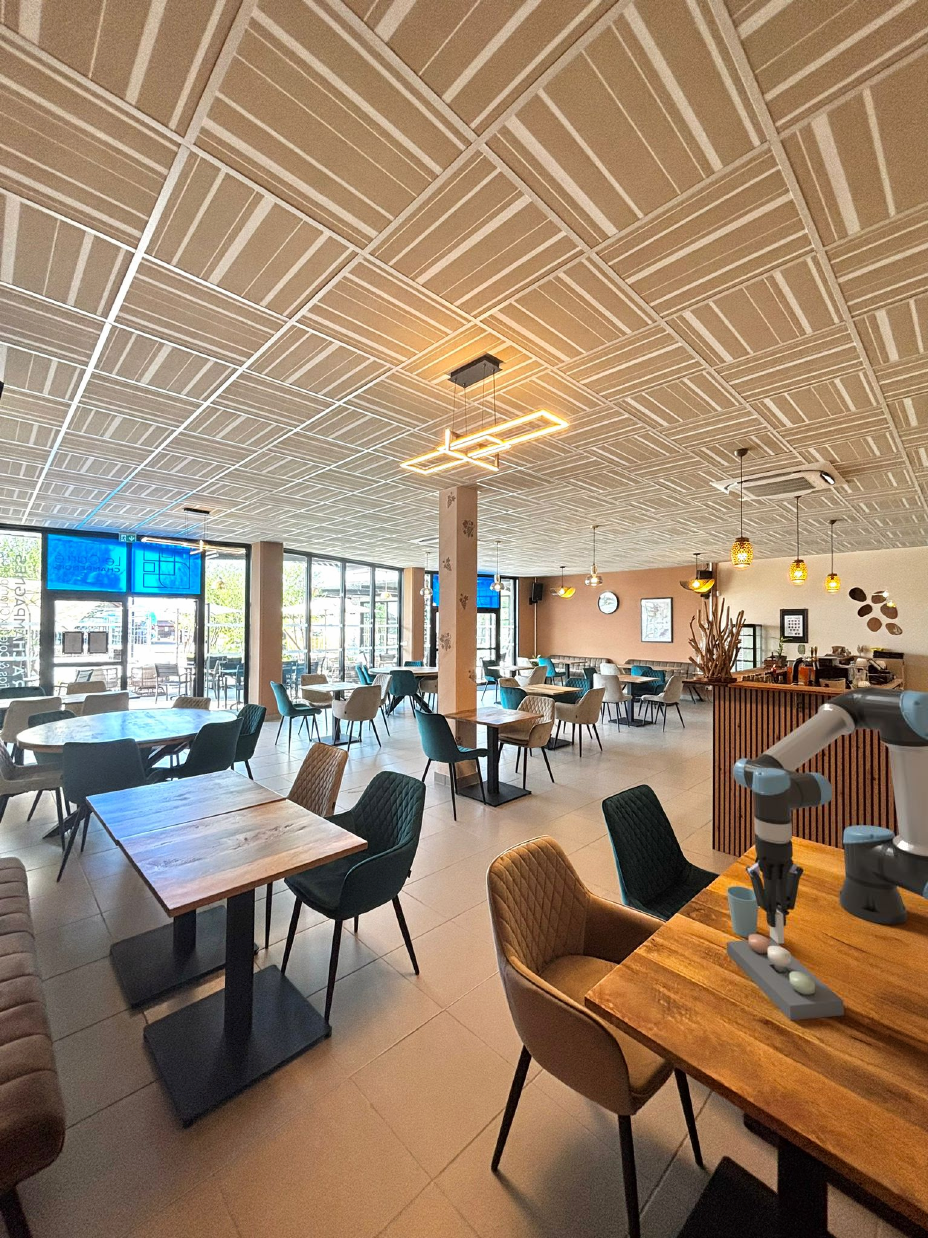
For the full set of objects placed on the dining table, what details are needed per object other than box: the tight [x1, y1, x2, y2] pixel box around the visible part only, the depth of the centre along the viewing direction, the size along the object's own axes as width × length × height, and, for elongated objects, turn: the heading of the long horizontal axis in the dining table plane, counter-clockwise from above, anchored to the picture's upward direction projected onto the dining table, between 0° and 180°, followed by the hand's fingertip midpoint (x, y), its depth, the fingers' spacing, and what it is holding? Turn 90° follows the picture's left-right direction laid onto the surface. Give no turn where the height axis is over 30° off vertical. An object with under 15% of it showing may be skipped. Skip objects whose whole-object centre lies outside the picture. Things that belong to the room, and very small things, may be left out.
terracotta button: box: [748, 933, 770, 954], centre depth 124 cm, size 5×5×4 cm
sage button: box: [789, 971, 815, 996], centre depth 110 cm, size 5×5×4 cm
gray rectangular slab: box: [726, 937, 845, 1021], centre depth 117 cm, size 12×22×3 cm, turn 5°
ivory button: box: [768, 946, 792, 972], centre depth 117 cm, size 5×5×4 cm
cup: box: [726, 885, 759, 939], centre depth 137 cm, size 8×8×10 cm
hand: (777, 939), depth 117 cm, fingers closed
